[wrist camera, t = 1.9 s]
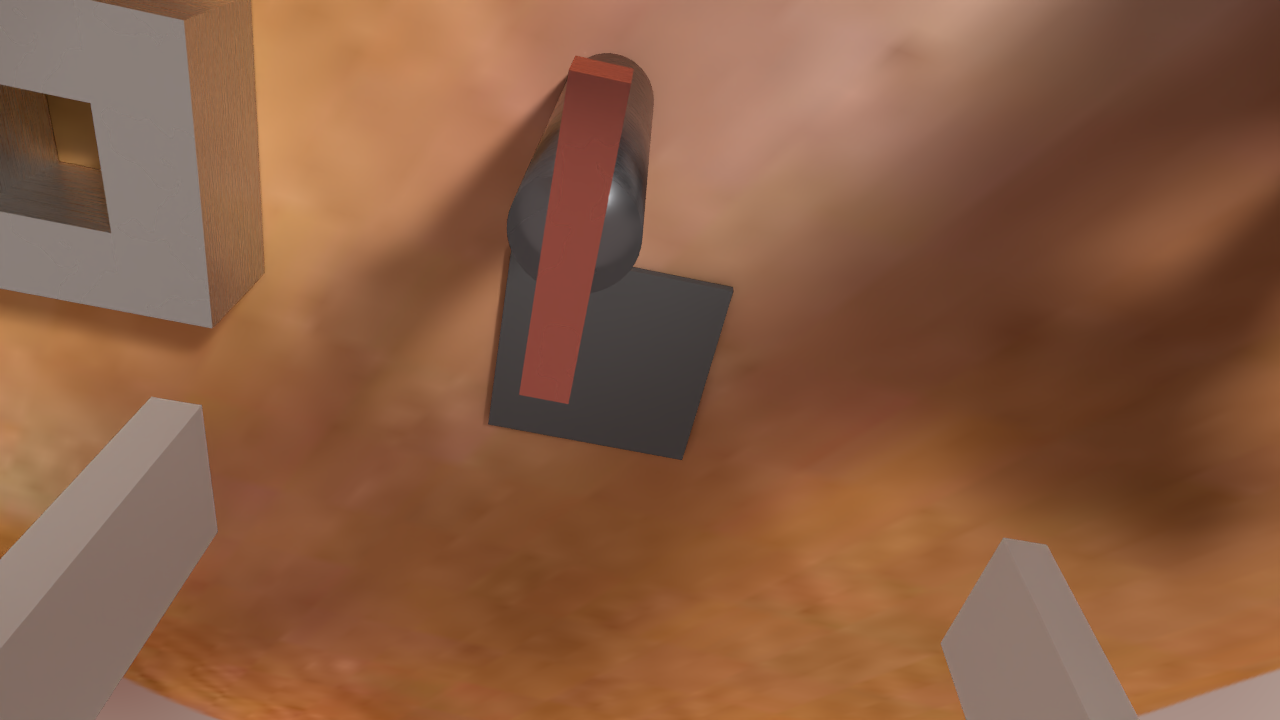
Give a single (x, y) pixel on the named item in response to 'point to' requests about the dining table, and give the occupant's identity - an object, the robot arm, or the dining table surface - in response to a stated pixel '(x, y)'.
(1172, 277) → the dining table surface
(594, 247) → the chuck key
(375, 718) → the dining table surface
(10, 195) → the block
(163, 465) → the robot arm
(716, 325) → the mat
